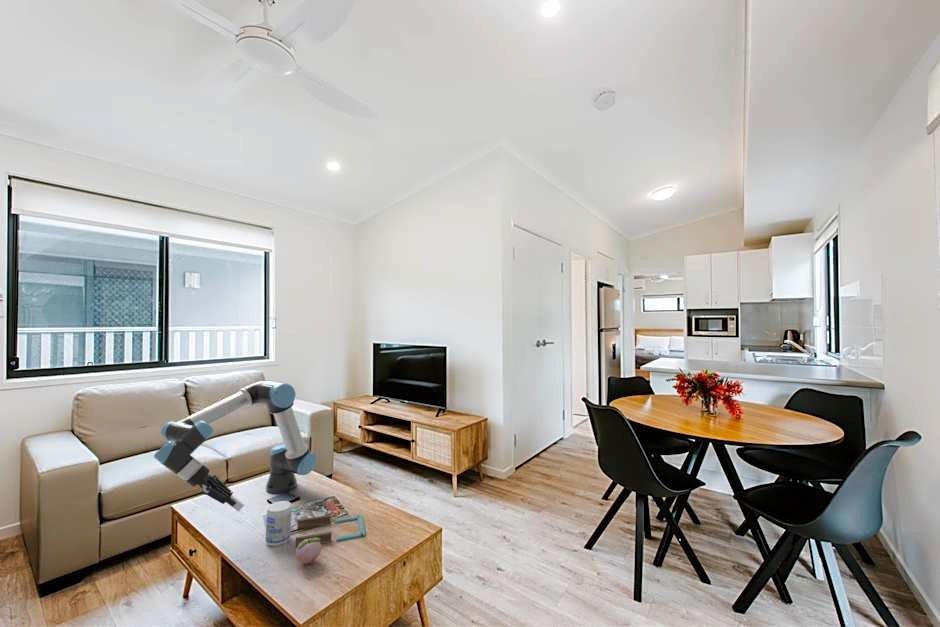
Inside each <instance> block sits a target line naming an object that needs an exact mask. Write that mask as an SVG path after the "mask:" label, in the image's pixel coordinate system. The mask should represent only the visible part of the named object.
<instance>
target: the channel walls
mask: <svg viewBox="0 0 940 627" xmlns="http://www.w3.org/2000/svg"><path fill="white" fill-rule="evenodd" d="M331 518H332V517H331V514H326V515H319V516H311V517H307V518H301V519H297V522H296V523H297V524H296V525H297V526H296V530H300V528H302V529H307V528H312V527H319V526H326V525H330V524H331V521H332V520H331ZM332 534H333V533H332V531H326V532H321V533H314V534H308V535H303V536H296V537H295V544H294V546H295V549H297V547H298V545H299V544H300V543H301V542H302V541H304V540H306V539H308V538H314V537H317V538H320V539H321V540H319V542H320V544H325V543H331V542H332V537H333V536H332Z"/></svg>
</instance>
